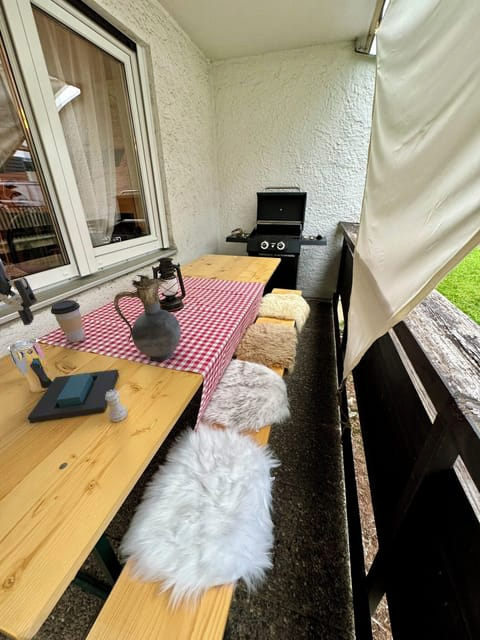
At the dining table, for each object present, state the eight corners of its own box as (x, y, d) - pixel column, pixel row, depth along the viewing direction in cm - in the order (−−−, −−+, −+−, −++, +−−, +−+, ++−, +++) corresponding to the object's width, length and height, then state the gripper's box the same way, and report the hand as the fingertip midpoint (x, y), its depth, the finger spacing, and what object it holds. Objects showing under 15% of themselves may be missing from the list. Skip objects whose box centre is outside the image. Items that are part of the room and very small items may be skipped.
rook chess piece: (108, 424, 65) (99, 401, 61) (110, 411, 69) (102, 388, 65) (127, 420, 66) (119, 397, 62) (128, 407, 70) (121, 385, 66)
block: (61, 410, 69) (56, 399, 68) (75, 385, 78) (71, 375, 76) (83, 407, 70) (79, 396, 68) (94, 383, 79) (91, 372, 77)
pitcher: (183, 362, 87) (169, 277, 73) (124, 367, 85) (99, 281, 72) (185, 344, 97) (173, 266, 83) (132, 349, 95) (112, 270, 81)
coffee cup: (87, 330, 109) (75, 297, 102) (92, 338, 102) (80, 304, 95) (61, 337, 104) (47, 303, 97) (65, 347, 97) (50, 311, 90)
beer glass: (61, 382, 80) (42, 341, 73) (36, 397, 74) (13, 354, 67) (49, 375, 83) (30, 335, 76) (24, 388, 77) (2, 347, 70)
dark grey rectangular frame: (30, 423, 66) (27, 417, 65) (57, 381, 80) (55, 376, 79) (104, 412, 69) (102, 407, 68) (118, 374, 83) (117, 369, 82)
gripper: (22, 246, 55) (50, 315, 62) (-55, 251, 52) (-17, 321, 60) (-1, 255, 48) (34, 330, 56) (-90, 260, 46) (-42, 337, 53)
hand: (7, 325), depth 58 cm, fingers open, 8 cm apart
